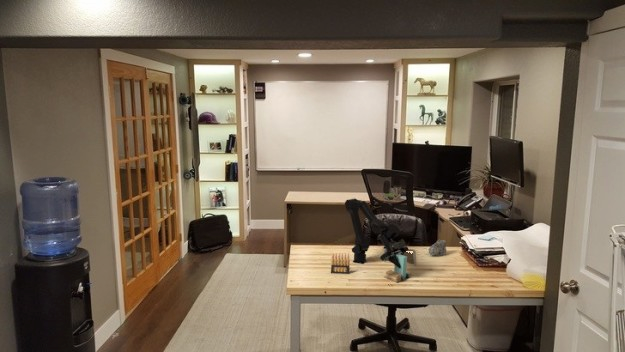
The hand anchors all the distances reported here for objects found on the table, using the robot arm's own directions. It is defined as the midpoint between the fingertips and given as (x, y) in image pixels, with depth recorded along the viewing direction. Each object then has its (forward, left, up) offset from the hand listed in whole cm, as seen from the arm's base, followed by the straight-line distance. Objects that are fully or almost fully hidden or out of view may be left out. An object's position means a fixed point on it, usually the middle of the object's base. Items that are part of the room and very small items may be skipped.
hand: (402, 266), depth 239 cm
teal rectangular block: (-1, +1, -6) cm, 6 cm away
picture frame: (-10, +34, -8) cm, 36 cm away
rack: (-2, -2, -7) cm, 8 cm away
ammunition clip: (-34, -8, -7) cm, 35 cm away
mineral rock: (+11, +48, -7) cm, 50 cm away
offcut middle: (-4, -4, -5) cm, 8 cm away
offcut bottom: (-4, -5, -6) cm, 8 cm away
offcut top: (-3, -5, -4) cm, 7 cm away
